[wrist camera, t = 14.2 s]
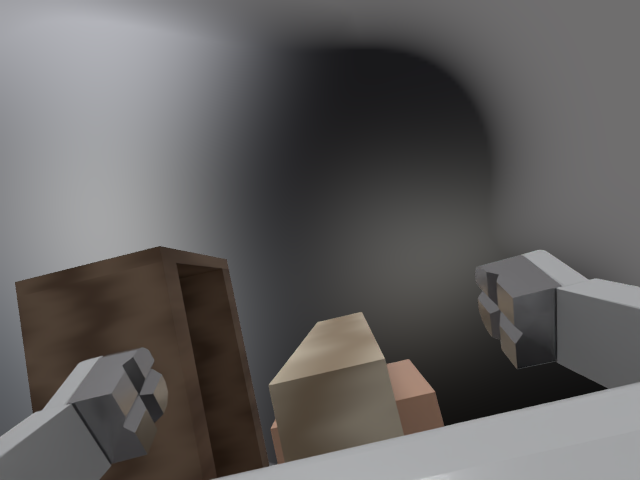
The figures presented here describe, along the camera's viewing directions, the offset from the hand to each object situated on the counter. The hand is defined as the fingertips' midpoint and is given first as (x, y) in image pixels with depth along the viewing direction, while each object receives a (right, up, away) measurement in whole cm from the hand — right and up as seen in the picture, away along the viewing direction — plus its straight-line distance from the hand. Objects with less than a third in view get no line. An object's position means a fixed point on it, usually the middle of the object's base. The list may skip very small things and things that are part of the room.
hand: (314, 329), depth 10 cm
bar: (+2, -6, +11) cm, 13 cm away
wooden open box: (-9, -25, +20) cm, 33 cm away
